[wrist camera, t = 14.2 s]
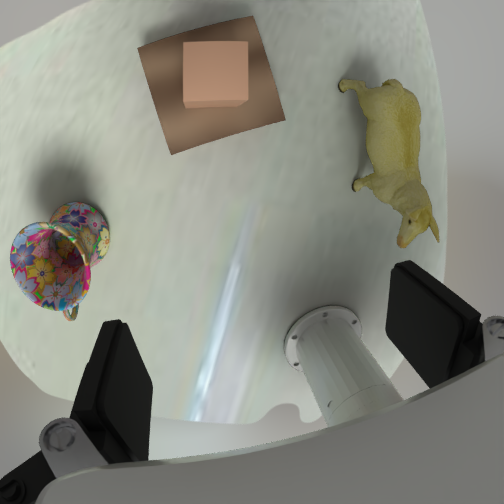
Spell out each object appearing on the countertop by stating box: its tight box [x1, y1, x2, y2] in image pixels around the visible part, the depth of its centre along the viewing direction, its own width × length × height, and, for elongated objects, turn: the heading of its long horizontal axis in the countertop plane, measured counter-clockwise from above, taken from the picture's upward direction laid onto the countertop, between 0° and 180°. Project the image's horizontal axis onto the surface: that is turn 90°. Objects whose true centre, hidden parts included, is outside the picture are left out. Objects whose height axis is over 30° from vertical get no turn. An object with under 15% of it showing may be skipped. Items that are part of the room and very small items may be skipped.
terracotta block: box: [183, 41, 248, 108], centre depth 25 cm, size 5×5×7 cm
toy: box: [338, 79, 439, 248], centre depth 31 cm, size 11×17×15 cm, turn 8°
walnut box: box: [137, 16, 285, 155], centre depth 30 cm, size 12×12×5 cm
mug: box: [10, 202, 110, 321], centre depth 31 cm, size 12×9×11 cm
